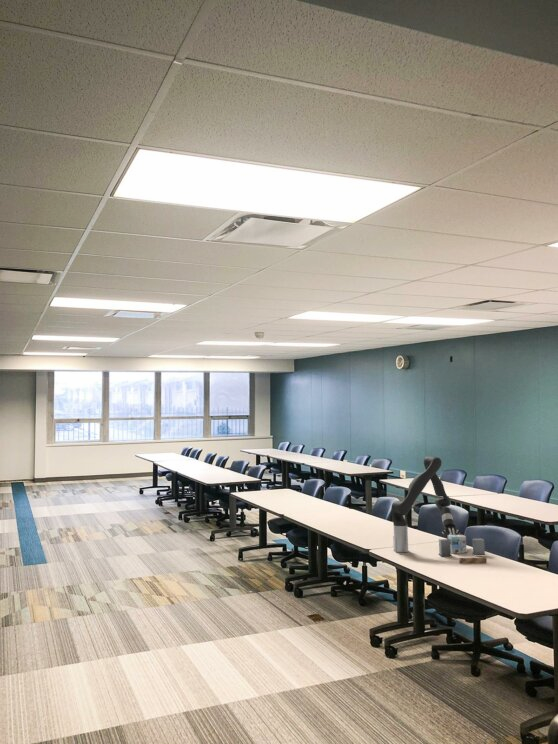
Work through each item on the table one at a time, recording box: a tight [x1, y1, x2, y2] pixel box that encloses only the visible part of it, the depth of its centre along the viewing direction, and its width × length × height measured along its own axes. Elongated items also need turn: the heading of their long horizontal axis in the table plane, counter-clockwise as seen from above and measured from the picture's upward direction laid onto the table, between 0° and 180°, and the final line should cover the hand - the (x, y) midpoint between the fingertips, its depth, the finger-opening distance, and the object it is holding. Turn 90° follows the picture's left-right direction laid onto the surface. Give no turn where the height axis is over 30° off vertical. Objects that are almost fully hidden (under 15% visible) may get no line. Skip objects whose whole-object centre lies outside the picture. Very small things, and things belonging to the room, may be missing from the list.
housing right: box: [472, 537, 486, 556], centre depth 393 cm, size 7×6×10 cm
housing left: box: [438, 538, 452, 558], centre depth 392 cm, size 7×6×10 cm
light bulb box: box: [447, 534, 467, 554], centre depth 403 cm, size 11×7×11 cm, turn 97°
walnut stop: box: [458, 556, 488, 565], centre depth 371 cm, size 16×2×3 cm, turn 91°
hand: (454, 542), depth 409 cm, fingers closed
